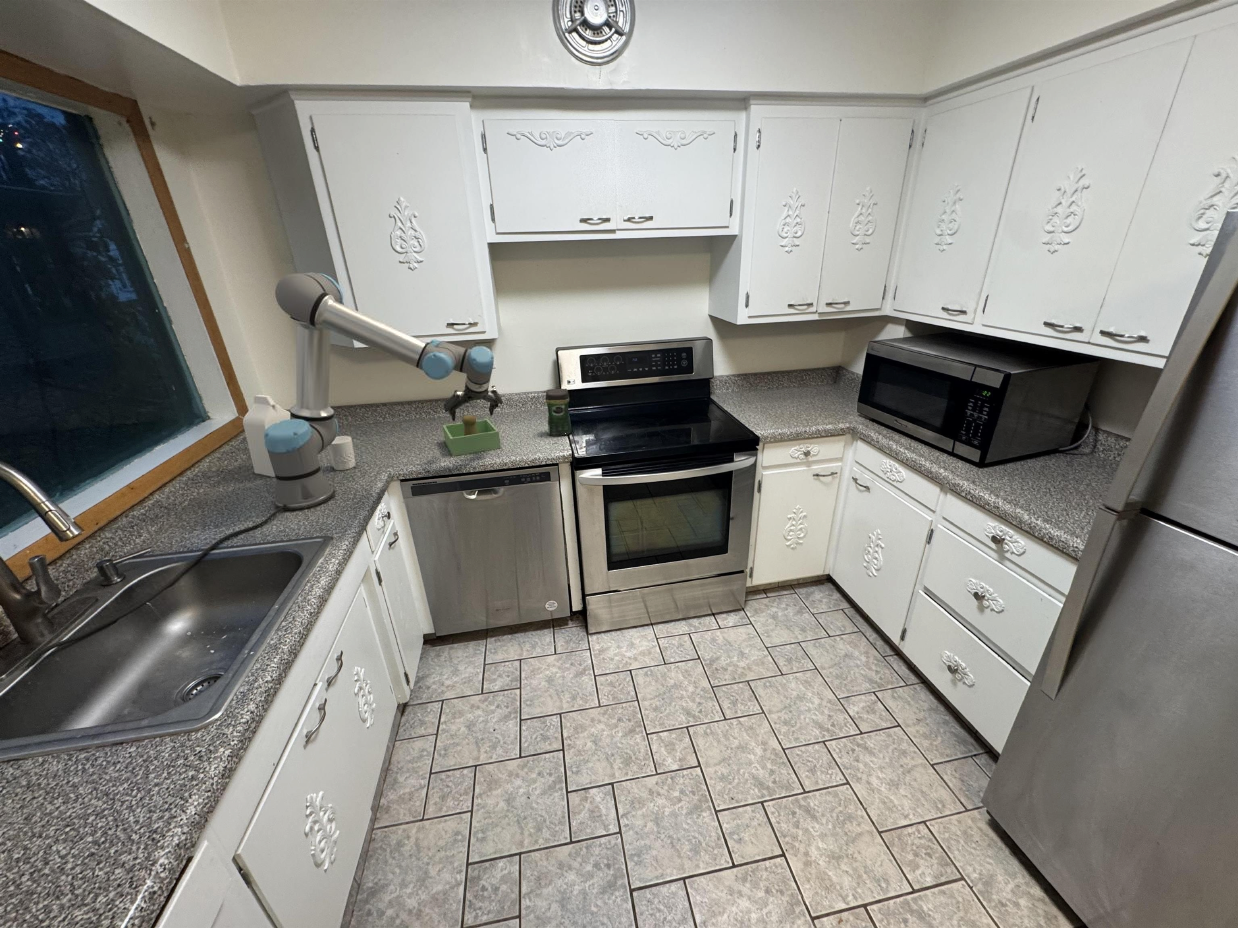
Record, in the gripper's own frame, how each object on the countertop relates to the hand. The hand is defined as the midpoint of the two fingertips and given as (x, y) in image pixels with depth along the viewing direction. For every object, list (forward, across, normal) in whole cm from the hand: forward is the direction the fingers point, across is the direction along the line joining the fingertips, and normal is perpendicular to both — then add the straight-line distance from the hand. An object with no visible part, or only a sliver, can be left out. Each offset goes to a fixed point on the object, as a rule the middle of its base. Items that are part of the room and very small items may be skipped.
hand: (472, 415), depth 183 cm
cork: (+15, 0, -4) cm, 16 cm away
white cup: (+16, -44, -5) cm, 47 cm away
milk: (+21, -63, +1) cm, 66 cm away
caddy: (+15, 0, -4) cm, 16 cm away
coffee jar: (+13, +35, -7) cm, 38 cm away
